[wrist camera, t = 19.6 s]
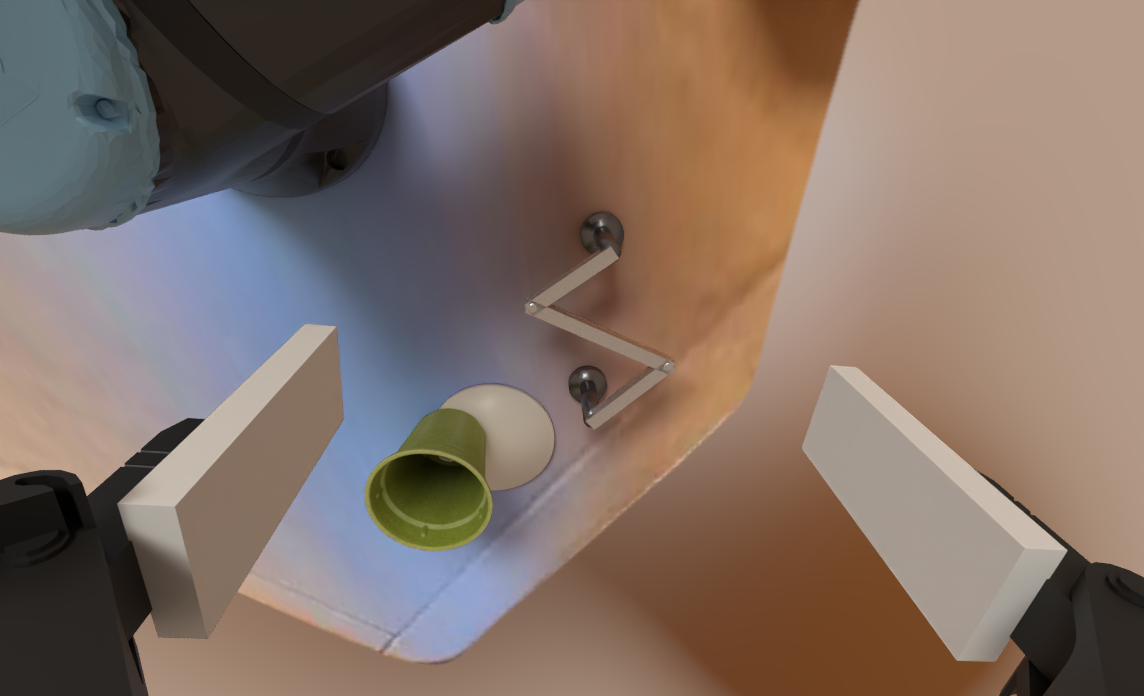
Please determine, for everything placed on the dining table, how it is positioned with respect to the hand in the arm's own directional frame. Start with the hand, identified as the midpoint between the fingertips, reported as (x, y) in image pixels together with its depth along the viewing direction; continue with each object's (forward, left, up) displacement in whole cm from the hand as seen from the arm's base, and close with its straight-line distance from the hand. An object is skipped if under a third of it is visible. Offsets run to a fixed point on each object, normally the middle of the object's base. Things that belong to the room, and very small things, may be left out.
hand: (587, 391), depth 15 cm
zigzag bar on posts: (+3, -8, -28) cm, 30 cm away
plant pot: (-8, -21, -28) cm, 36 cm away
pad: (-5, -21, -28) cm, 36 cm away
